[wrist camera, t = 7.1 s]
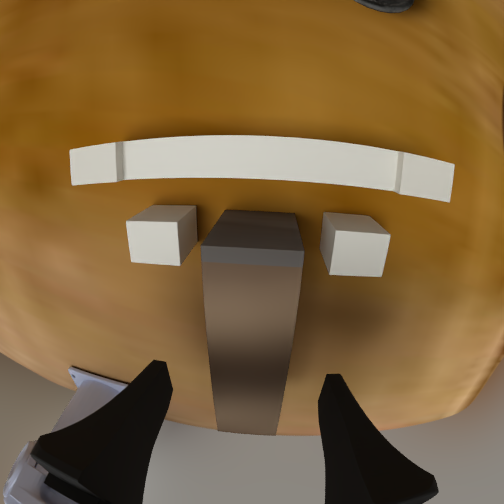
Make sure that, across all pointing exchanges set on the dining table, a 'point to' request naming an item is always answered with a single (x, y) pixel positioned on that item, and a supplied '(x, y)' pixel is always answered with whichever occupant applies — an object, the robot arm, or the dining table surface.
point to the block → (251, 315)
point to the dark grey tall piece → (387, 5)
